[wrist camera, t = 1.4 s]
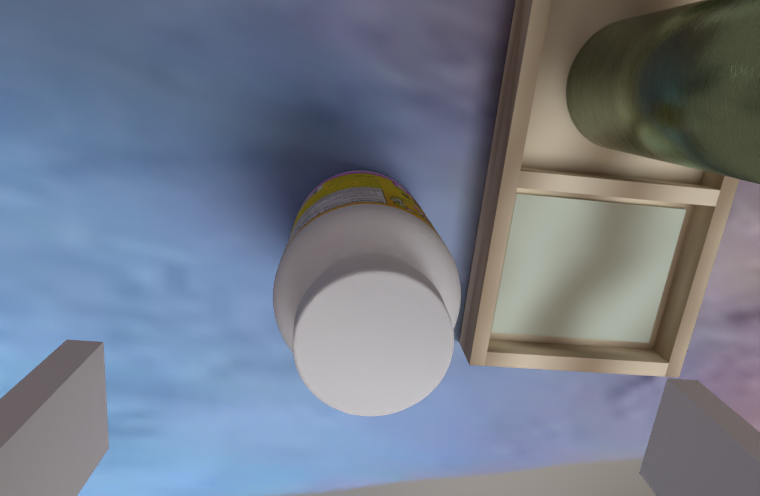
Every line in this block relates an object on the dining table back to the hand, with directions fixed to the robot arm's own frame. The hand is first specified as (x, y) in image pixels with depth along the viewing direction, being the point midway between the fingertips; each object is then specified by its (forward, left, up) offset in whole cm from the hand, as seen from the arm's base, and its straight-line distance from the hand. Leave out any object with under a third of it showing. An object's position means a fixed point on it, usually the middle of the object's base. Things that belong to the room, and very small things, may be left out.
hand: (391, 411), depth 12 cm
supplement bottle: (0, 0, -16) cm, 16 cm away
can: (+12, +9, -15) cm, 21 cm away
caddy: (+12, +9, -16) cm, 21 cm away
